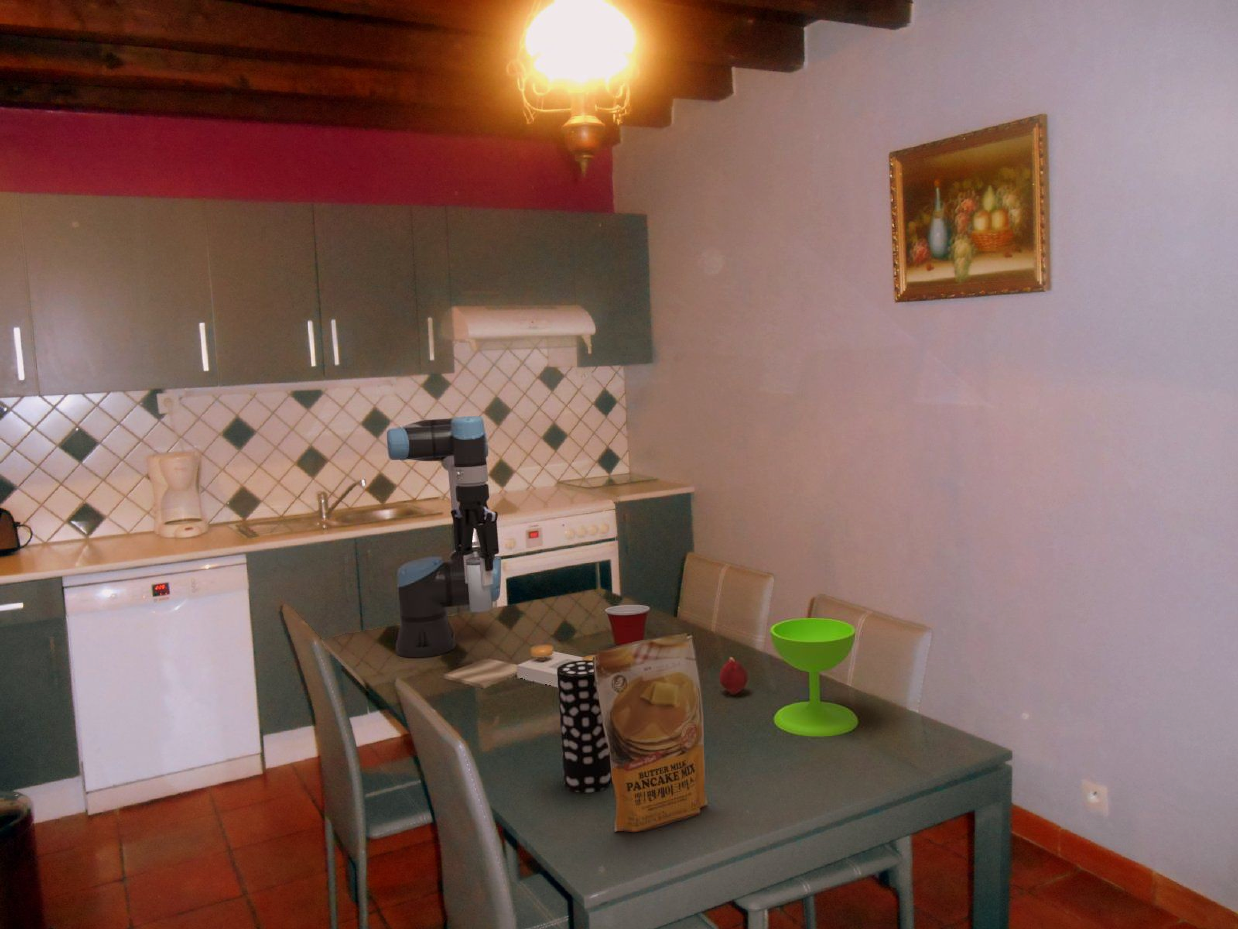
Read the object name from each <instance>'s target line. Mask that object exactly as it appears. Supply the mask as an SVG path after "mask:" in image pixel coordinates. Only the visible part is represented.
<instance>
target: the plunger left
mask: <svg viewBox="0 0 1238 929" xmlns="http://www.w3.org/2000/svg"><path fill="white" fill-rule="evenodd" d="M553 651H554V646H553V645H550V644H538V645H534V646H531V647H530V656H531V657H534V658H536V657H538V662H542V663H543V662H545V661H547V656H550V655H552V654H553Z"/></svg>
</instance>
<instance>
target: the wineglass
mask: <svg viewBox="0 0 1238 929" xmlns="http://www.w3.org/2000/svg"><path fill="white" fill-rule="evenodd" d="M769 632H770V636H771V642H772V644H773V646H774V648H775V650H776V652H777V654H778V655H779V656H780V657H781V658H782V660H784V661H785V663H787V664H789V665H790V666H791V667H792V668H795V669H796V670H800V671H804V672H807V673H808V683H809V701H800V702H794V703H790V704H788V705H786V706H783V707H782V708H780V709H779V710H777V712H776V713H775V715H774V717H773V722H774V724H775V725H776V727H777V728H779V729H781V730H783V731H785V732H787V733H790V734H794V735H798V736H803V737H810V738H811V737H813V738H814V737H819V738H820V737H821V738H823V737H834V736H839V735H844V734H845V733H848V732H851V731H852V730H854V729H856V728H857V725H859V721H858V720H859V719H858V717H857V715H856V714H855V713H854V712H853V711H852V710H851V709H849V708H848V707H845V706H842V705H840V704H837V703H833V702H828V701H827V702H826V701H821V699H820V698H821V697H820V695H821V694H820V693H821V692H820V672H826V671H829V670H832V669H834V668H835V667H836V666H838V665H840V664H841V663H843V662H844V660H845V659H846V658H847V656H848V655H849V654H850V652H851V651H852V648H853V646H854V643H855V637H856V628H855V627H854V625H852V624H850V623H847V622H845V621H841V620H838V619H831V618H823V617H822V618H820V617H818V618H817V617H807V618H806V617H803V618H795V619H788V620H787V619H786V620H784V621H780V622H778V623H775V624H774V625H772V626H771V627H770V631H769Z"/></svg>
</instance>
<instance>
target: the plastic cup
mask: <svg viewBox="0 0 1238 929" xmlns="http://www.w3.org/2000/svg"><path fill="white" fill-rule="evenodd" d="M650 609H651V608H650V606H647V605H643V604H642V605H641V604H621V605H615V606H614V605H613V606H610V607H607V608H606V609H604V611H605V613H606V614H607V617H608V620H609V624H610V628H611V633H612V637H613V642H614V645H615V647H616V646H620V645H625V644H628V643H632V642H637V641H641V640H645V632H646V625H647V624H646V623H647V622H646V621H647V616H648V613H649V611H650Z"/></svg>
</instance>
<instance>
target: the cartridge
mask: <svg viewBox="0 0 1238 929" xmlns="http://www.w3.org/2000/svg"><path fill="white" fill-rule="evenodd" d="M480 558H481V557H471V558H468V559H466V564H467V577H468V590H469V603H470V605H469V611H470V612H472V613H484V612H488V611H491V610H492V608H493V607H492V602H491V592H490V585H486V586H482V577H481V564H480Z"/></svg>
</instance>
